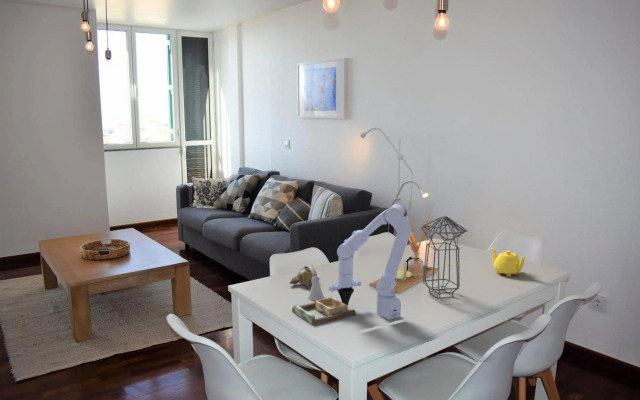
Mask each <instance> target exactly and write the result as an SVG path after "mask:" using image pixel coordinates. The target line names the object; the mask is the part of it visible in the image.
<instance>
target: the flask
mask: <svg viewBox="0 0 640 400" xmlns="http://www.w3.org/2000/svg"><path fill="white" fill-rule="evenodd" d="M312 279H313V283H312V285H311V287H310V290H309V294H308V295H307V299H308V300H309V301H312V302H313V301H314V302H315V301H316V300H320V299H325V296H324V294H323V291H322V288H321V283H320V279H321V277H320V276H318V275H317V276H315V277H312Z"/></svg>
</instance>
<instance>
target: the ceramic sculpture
mask: <svg viewBox="0 0 640 400" xmlns="http://www.w3.org/2000/svg"><path fill="white" fill-rule="evenodd" d="M315 276H317V277H318V274H317V271H316V269H315V267H314V266H313V264H311V265H309V266H303V267H302V269H300V270H299V271H298V272H297V275H296V276H293V277H292V278H291V280H290V281H289V284H290V285H298V283H299V284H300V285H303V286H306V287H312V283H313V279H312V277H315Z"/></svg>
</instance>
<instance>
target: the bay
mask: <svg viewBox="0 0 640 400" xmlns="http://www.w3.org/2000/svg"><path fill="white" fill-rule="evenodd" d="M311 309H315V301H314V302H311V303H306V304H301V305H298V304H294V305H293V306H292V309H291V311H292V313H294V314H295V315H296V316H299V317H300V318H302V319H303V320H305V321H307V322H308V323H309V324H311V325H312V326H316V325H320V324H321V325H322V324H325V323H328V322H332V321H337V320H341V319H345V318H349V317H353V316H356V310H355V309H350V310H347V311H346V312H342V313H338V314H334V315H330V316H326V315H325V316H322V317H321V316H320V317H317V318H316V316H315V315H314V314H313V313H311V312H309V311H307V310H311Z"/></svg>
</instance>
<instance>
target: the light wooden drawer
mask: <svg viewBox="0 0 640 400" xmlns="http://www.w3.org/2000/svg"><path fill="white" fill-rule="evenodd" d="M314 302H315V308H314V310H316V311H318V312H320V313H321V314H323V315H324V316H325V317H326V316H330V315H334V314H338V313H342V312H346V311H348V306H347V305H346V304H344V303H342V301H341V300H339V299H336V298H334V296H331V297H326V298H325V297H324V299H320V300H316V301H314Z"/></svg>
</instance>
